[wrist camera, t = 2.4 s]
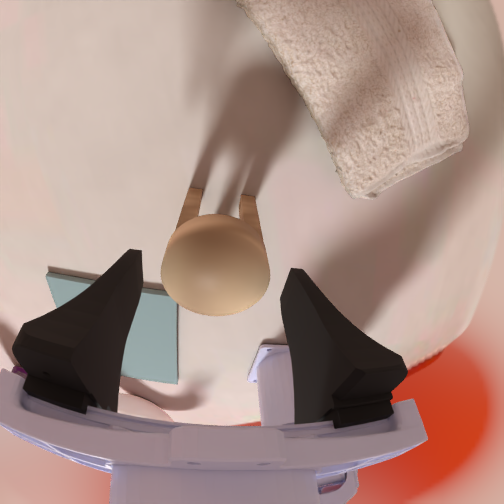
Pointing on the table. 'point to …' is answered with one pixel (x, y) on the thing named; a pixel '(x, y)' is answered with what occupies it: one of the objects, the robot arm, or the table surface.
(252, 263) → the tan piece
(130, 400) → the banana
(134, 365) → the mat
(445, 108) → the washcloth
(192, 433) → the robot arm
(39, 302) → the table surface
